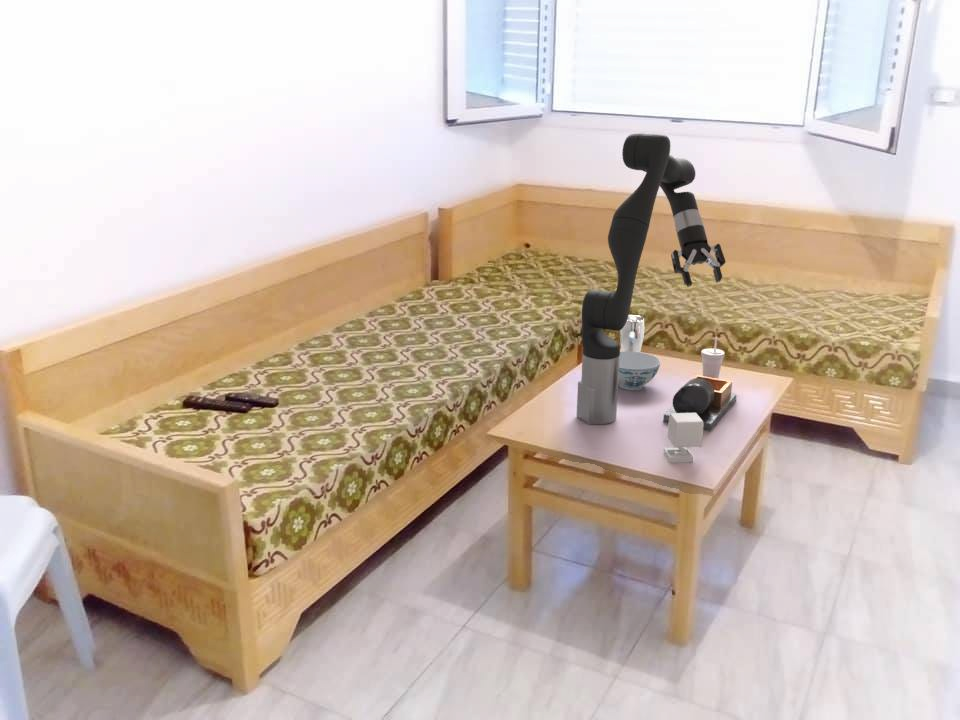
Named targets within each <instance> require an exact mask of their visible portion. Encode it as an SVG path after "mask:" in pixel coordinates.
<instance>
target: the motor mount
mask: <svg viewBox="0 0 960 720" xmlns="http://www.w3.org/2000/svg"><path fill="white" fill-rule="evenodd" d="M732 389H733V381H732V380H726V379H720V378H718V379H717V378H711V377H705V376H703V375H699V374H695V375H694V376H692V377H691V378H690V380H688V381H687V382H686V383H685V384H684V385H683V386H682V387H680V389H678V391H676V393H675V394H674V395H673V398H672V406H671V407H670V408H669V409H667V411H665V412H664V413H663V423H668V424H669V414H670V413H697V414H698V416H699V417H700V418H701V419H702V421H703V423H704V426H703V431H706V432H711V431H712V430H713V429H714V427H716V425H717V424H718V423H719V421H721V419H722V418H723V417H724V416H725V414H726V413H727V412H728V410H729V409H731V407H732V406H733V404H735V402H736V401H737V393H735V392H732Z"/></svg>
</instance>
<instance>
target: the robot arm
mask: <svg viewBox="0 0 960 720" xmlns="http://www.w3.org/2000/svg"><path fill="white" fill-rule="evenodd" d="M622 145H623V146H622V152H621V153H622V161H623V163H624V165H625V166H626V167H627V168H629V169H630V170H635V171H643V172H644V173H645V175H644V177H643V179H642V181H641V182H640V184H639V185H638V187H637V188H636V189H635V190H634V191H633V192H632V194H630V195H629V196H628V197H627V198H626V199H625V200H623V202H622V203H621V204H620V205H619V206H618V208H616V210H615V211H614V212H613V213H614V214H613V216H612V220H611V222H610V226H609V227H610V228H609V230H608V235H607V244H608V248H609V250H610V254H611V257H612V260H613V262H614V264H615V268H616V272H617V286H616V290H615V291H608V290H600V289H590V290H588V291H587V292H586V293H585V295H584V297H583V299H582V305H581V345H582V360H581V361H582V362H581V363H582V364H581V379H580V381H578V382H577V397H576V417H577V418H579V419H580V420H581V421H583V422H585V423H586V424H587V425H607V424H611V423H613V422H616V420H617V411H618V410H617V408H618V391H619V390H618V389H619V383H618V377H619V361H620V352H621V344H620V343H619V342H618V341H617V340H616V339H614V338H612V337H610V336H609V335H608V334H607V333H606V332H604V330H608V331H609V330H610V331H616V332H617V331H618V332H620V330H621V329H622V328H623V327H624V326H625V324H626V322H627V319H628V316H629V315H630V310H631V306H632V299H633V295H634V289H635V284H636V283H635V282H636V277H637V274H638V273H637V272H638V269H639V265H640V260H641V257H642V254H643V251H644V247H645V244H646V241H647V236H648V232H649V228H650V224H651V219H652V214H653V210H654V206H655V202H656V198H657V196H658V195H657V194H658V192H659V189H660V188H661V190H662V191H663V193H664V195H665V197H666V198H667V200H668V202H669V206H670V208H671V212H672V217H673V221H674V227H675V232H676V236H677V239H678V243H679V247H680V250H679V251H678V250H677V249H674V250H673V252H672V253H671V254H670V257H671V262H672V267H673V273H675V274H680V275H681V276H682V280H683V283H684V286H686V287H687V288H688V287H691V286H692V285H693V282H692V279H691V275H690V271H689V269H690V266H691V265H692V266H694V265H697V264H698V265H699V264H700V265H702V264H705V265H707V266H709V267H711V269H713V270H712V271H713V272H712V273H713V276H714V280H715V282H716V283H720V282H721V281H722V279H723V274H722V271H721V270H722V269H721V267H723V266H724V264H726V262H727V261H726V258H725V255H724V252H723V250H722V247H721V244H720V243H717V244H715V245H711V246H710V245H709V241H708V237H707V234H706V229H705V226H704V222H703V219H702V216H701V214H700V212H699V211H700V210H699V208H698V204H697V199H696V197H695V194H694V193H693V192H691V191H682V192H681V191H680V192H675V190H677V189H680V188H682V187H685V186H687V185H690V184H692V183H693V182H694V181H695V179H696V169H695V166H694V165H693V164H692V163H691V161H690V160H688V159H687V158H686V159H685V158H684V157H674V156H673V155H672V154H670V153H671V141H670V138H669V136H667V135H666V134H660V133H646V132H635V133H634V132H633V133H629V135H628V136H626V138H625V140H624V142H623V144H622ZM711 252H712V254H714V256H715V257H714V256H713V255H712V254H711ZM681 257H682V258H684V260H685V261H684V263H683V265H681V261H680V258H681Z"/></svg>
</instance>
